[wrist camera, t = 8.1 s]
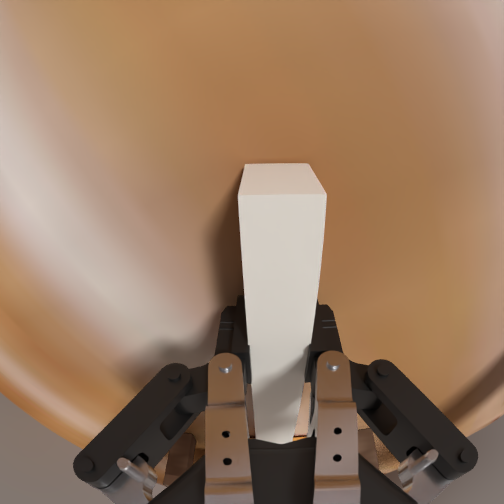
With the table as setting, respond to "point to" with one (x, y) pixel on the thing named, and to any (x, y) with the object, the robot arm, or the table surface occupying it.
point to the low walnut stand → (185, 445)
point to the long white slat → (280, 286)
